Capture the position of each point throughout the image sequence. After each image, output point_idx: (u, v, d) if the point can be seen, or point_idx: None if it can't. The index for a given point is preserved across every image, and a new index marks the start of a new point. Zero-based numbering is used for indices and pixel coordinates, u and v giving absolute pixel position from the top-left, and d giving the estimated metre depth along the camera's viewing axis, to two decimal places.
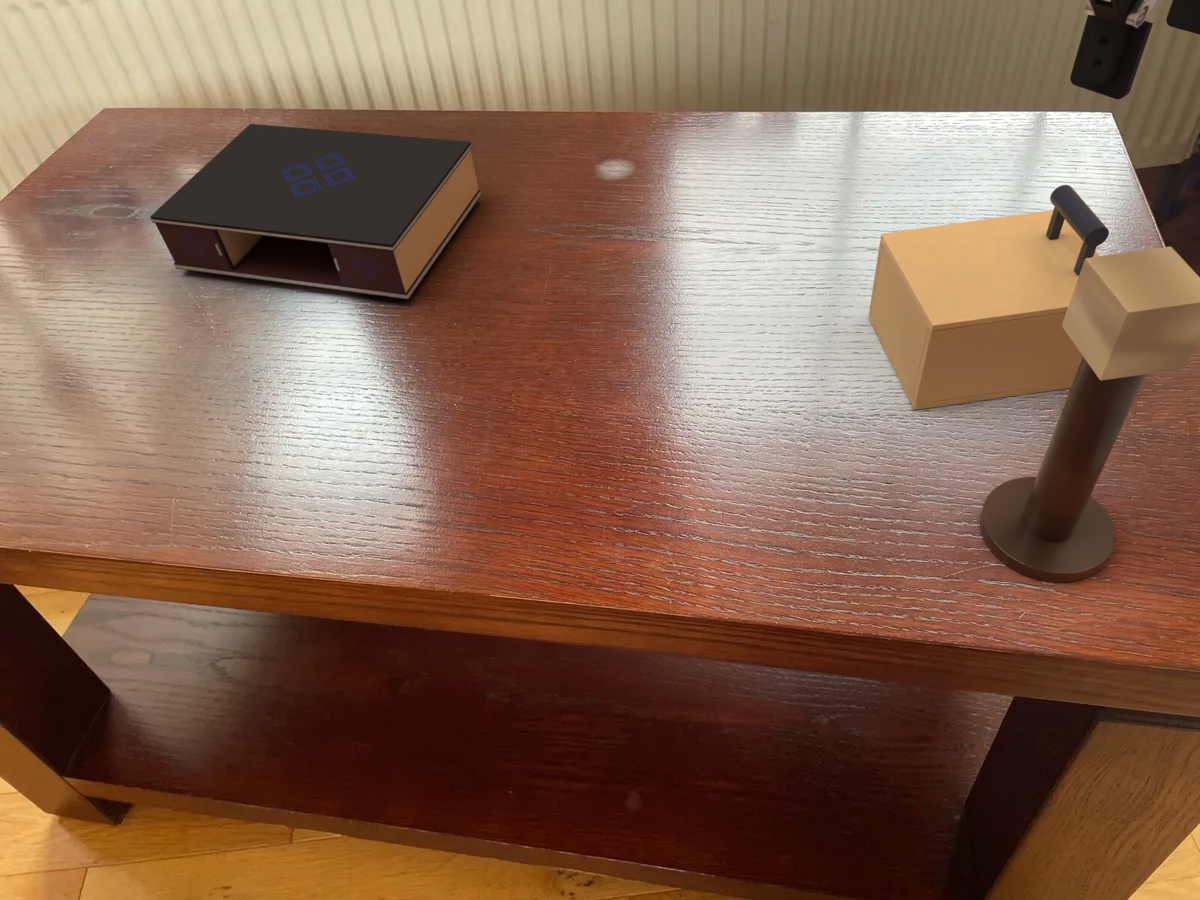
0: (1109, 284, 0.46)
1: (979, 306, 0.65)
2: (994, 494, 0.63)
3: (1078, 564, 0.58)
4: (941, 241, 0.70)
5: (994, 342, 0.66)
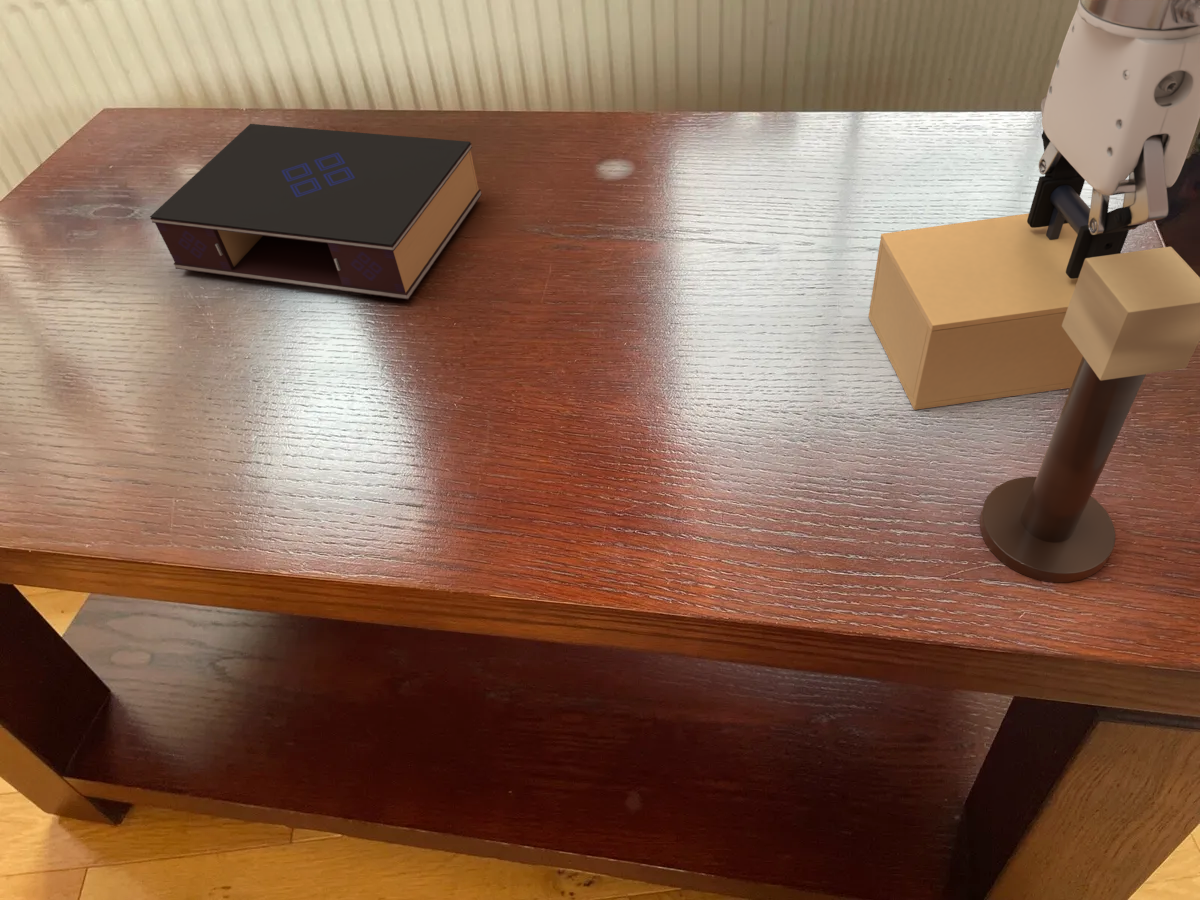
0: (1109, 284, 0.46)
1: (979, 306, 0.65)
2: (994, 494, 0.63)
3: (1078, 564, 0.58)
4: (941, 241, 0.70)
5: (994, 342, 0.66)
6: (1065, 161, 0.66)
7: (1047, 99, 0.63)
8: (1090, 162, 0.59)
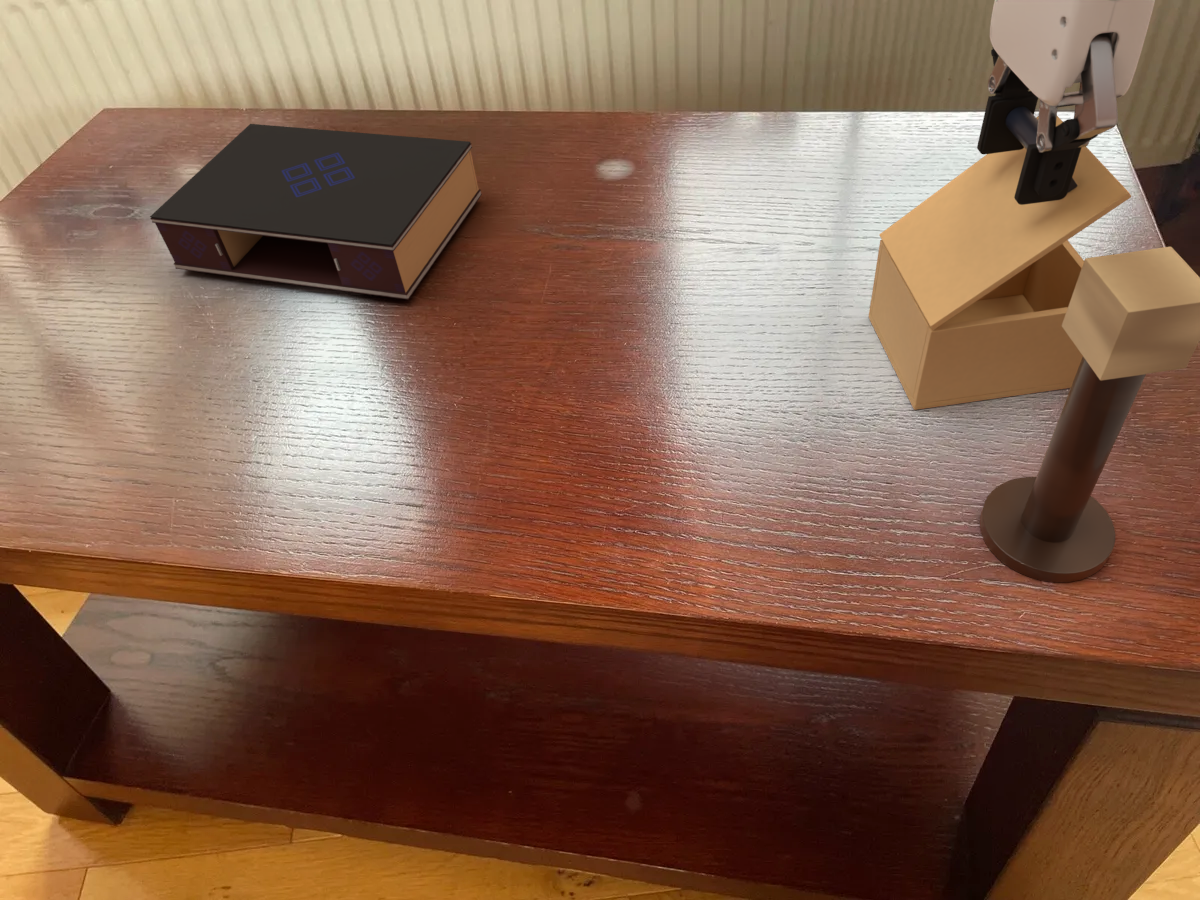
0: (1109, 284, 0.46)
1: (972, 281, 0.63)
2: (994, 494, 0.63)
3: (1078, 564, 0.58)
4: (934, 214, 0.68)
5: (994, 342, 0.66)
6: (1015, 78, 0.61)
7: (994, 8, 0.59)
8: (1035, 70, 0.54)
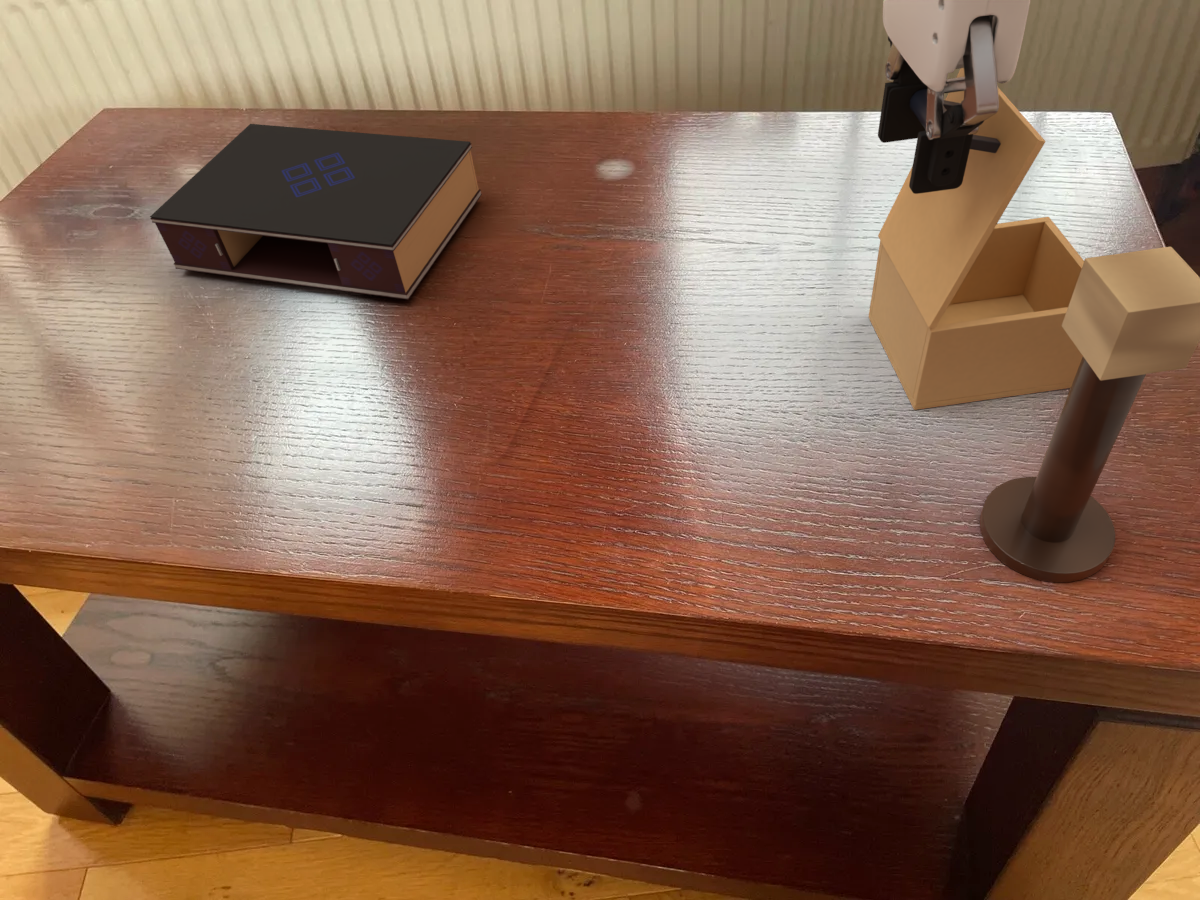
0: (1109, 284, 0.46)
1: (947, 271, 0.62)
2: (994, 494, 0.63)
3: (1078, 564, 0.58)
4: (909, 204, 0.68)
5: (994, 342, 0.66)
6: None
7: None
8: (920, 54, 0.53)
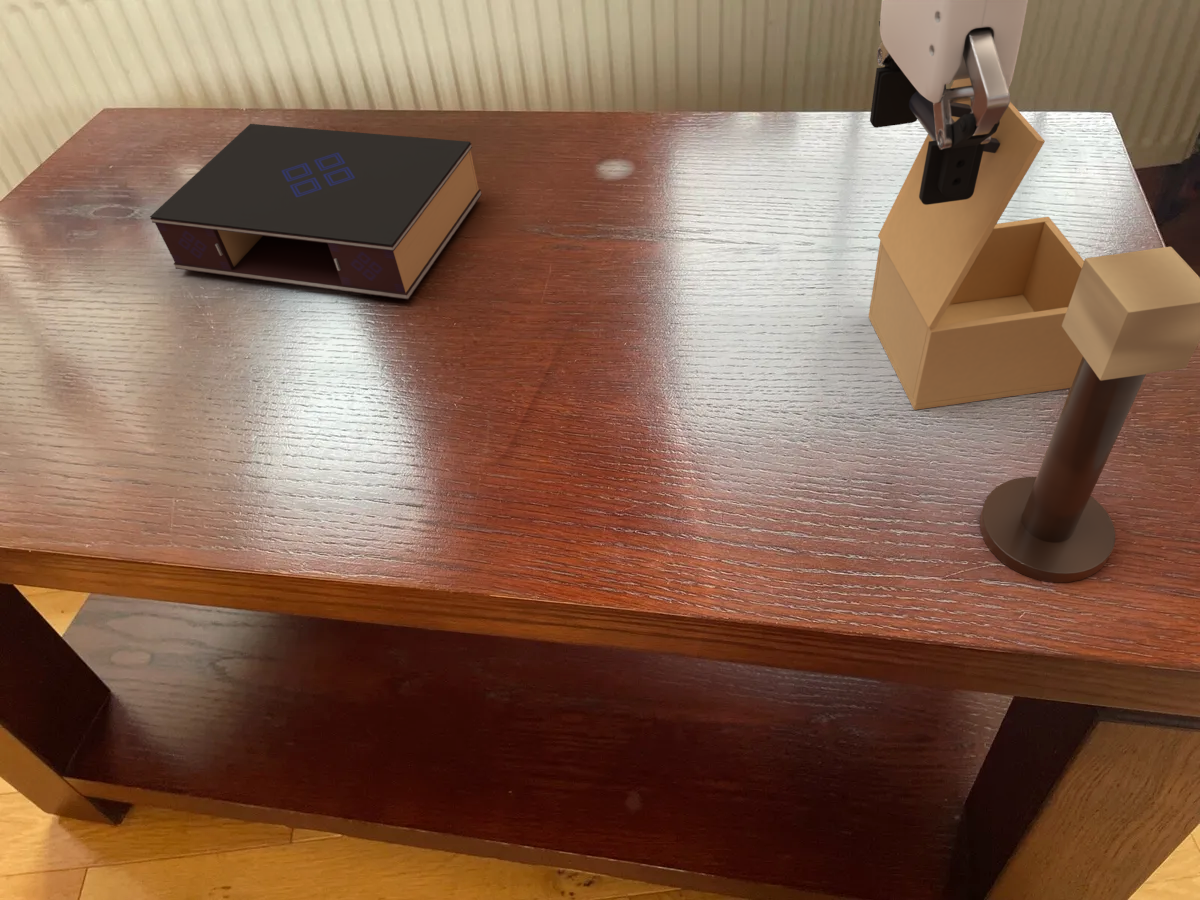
0: (1109, 284, 0.46)
1: (947, 271, 0.62)
2: (994, 494, 0.63)
3: (1078, 564, 0.58)
4: (909, 204, 0.68)
5: (994, 342, 0.66)
6: None
7: (882, 4, 0.58)
8: (917, 66, 0.53)
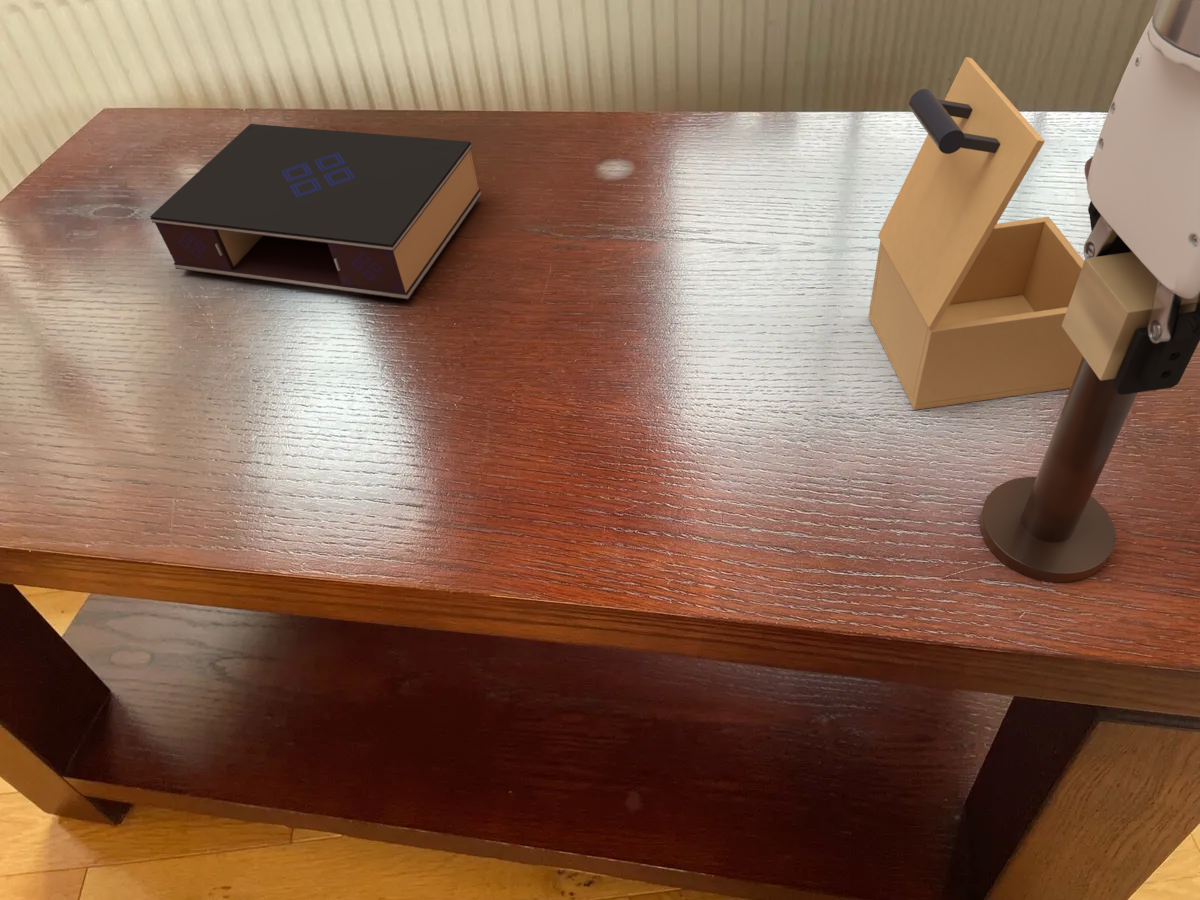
0: (1109, 284, 0.46)
1: (947, 271, 0.62)
2: (994, 494, 0.63)
3: (1078, 564, 0.58)
4: (909, 204, 0.68)
5: (994, 342, 0.66)
6: (1121, 245, 0.48)
7: (1095, 156, 0.46)
8: (1161, 251, 0.42)
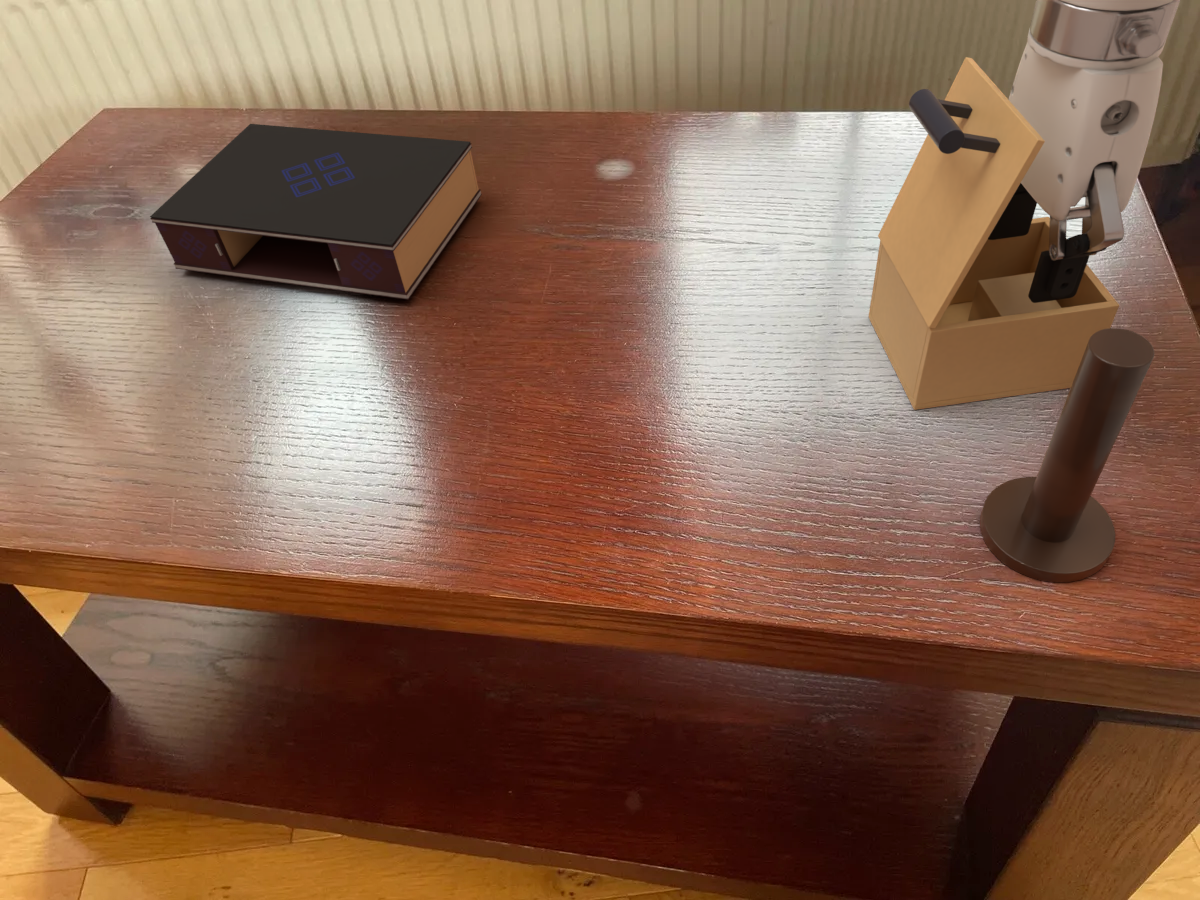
0: (991, 298, 0.70)
1: (947, 271, 0.62)
2: (994, 494, 0.63)
3: (1078, 564, 0.58)
4: (909, 204, 0.68)
5: (994, 342, 0.66)
6: None
7: None
8: (1043, 187, 0.60)
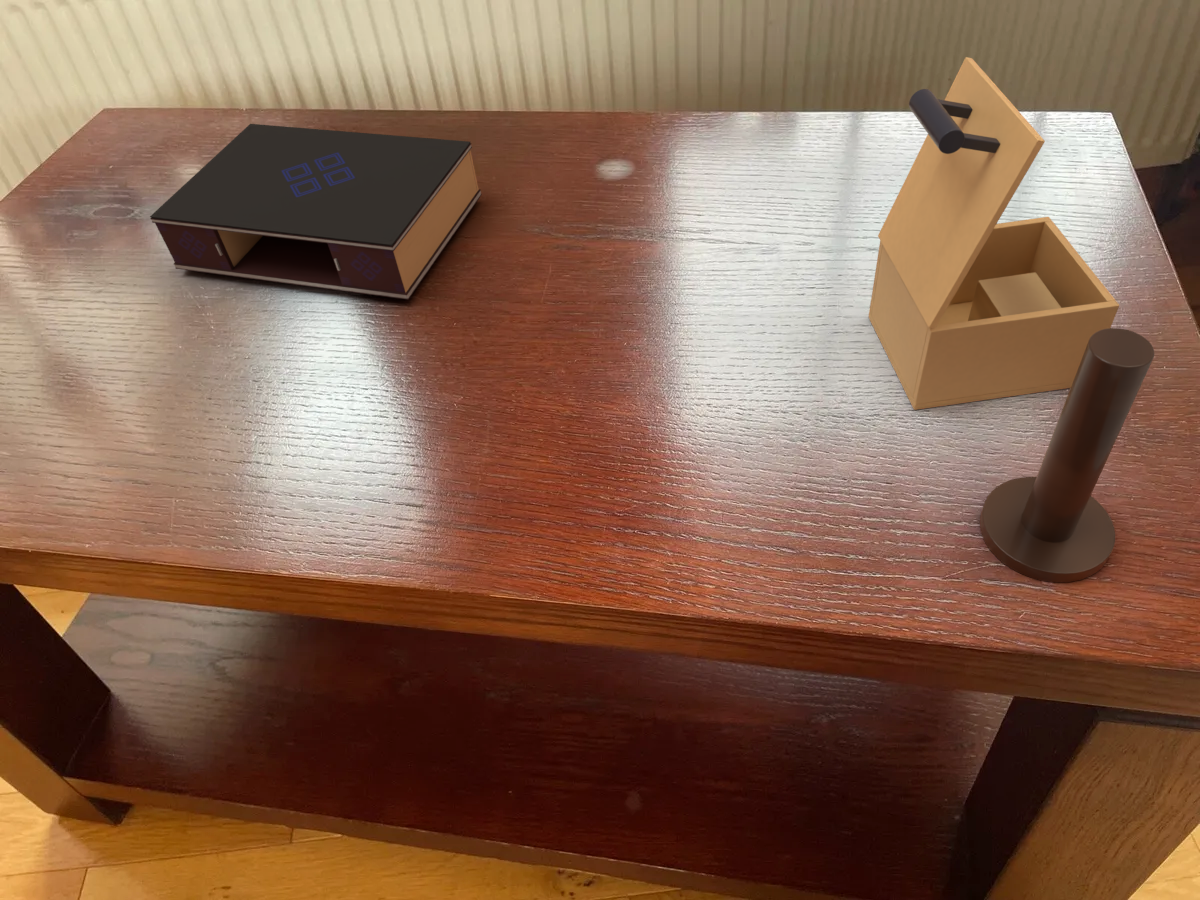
0: (991, 298, 0.70)
1: (947, 271, 0.62)
2: (994, 494, 0.63)
3: (1078, 564, 0.58)
4: (909, 204, 0.68)
5: (994, 342, 0.66)
6: None
7: None
8: None
